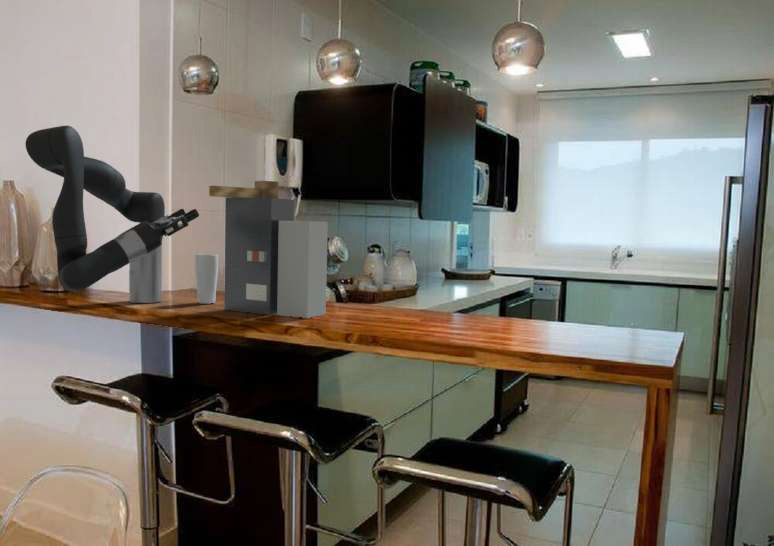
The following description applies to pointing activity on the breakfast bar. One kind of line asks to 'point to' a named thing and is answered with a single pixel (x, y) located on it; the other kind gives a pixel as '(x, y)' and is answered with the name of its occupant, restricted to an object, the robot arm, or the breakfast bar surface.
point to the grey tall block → (302, 268)
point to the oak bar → (247, 190)
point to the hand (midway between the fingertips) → (190, 212)
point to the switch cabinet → (253, 252)
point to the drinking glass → (206, 277)
